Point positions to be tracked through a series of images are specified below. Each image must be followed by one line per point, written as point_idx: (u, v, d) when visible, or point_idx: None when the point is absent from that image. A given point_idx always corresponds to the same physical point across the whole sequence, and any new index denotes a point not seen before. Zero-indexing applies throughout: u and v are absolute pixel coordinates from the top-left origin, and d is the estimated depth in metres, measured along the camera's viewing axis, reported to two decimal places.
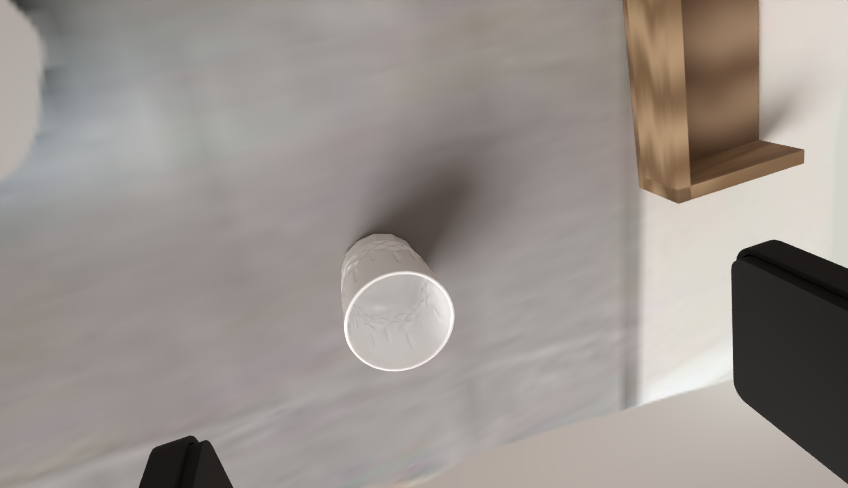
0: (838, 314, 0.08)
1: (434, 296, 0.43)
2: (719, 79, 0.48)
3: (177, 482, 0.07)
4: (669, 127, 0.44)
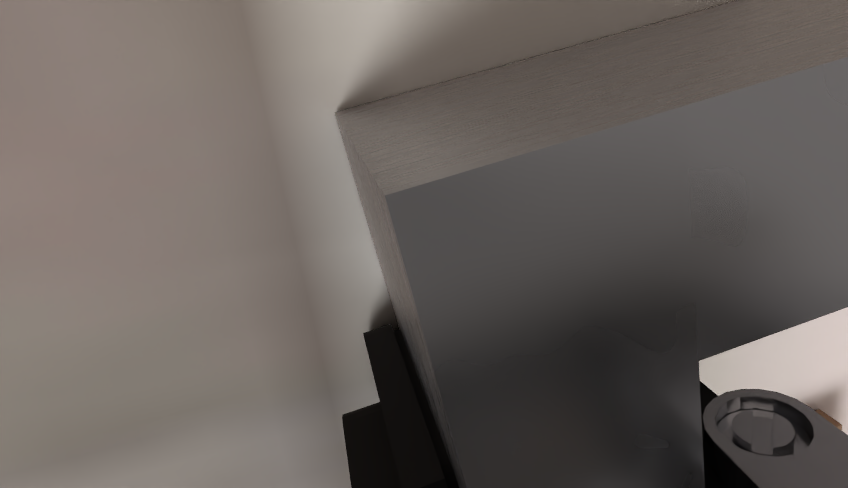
0: None
1: None
2: None
3: (400, 351, 0.09)
4: None
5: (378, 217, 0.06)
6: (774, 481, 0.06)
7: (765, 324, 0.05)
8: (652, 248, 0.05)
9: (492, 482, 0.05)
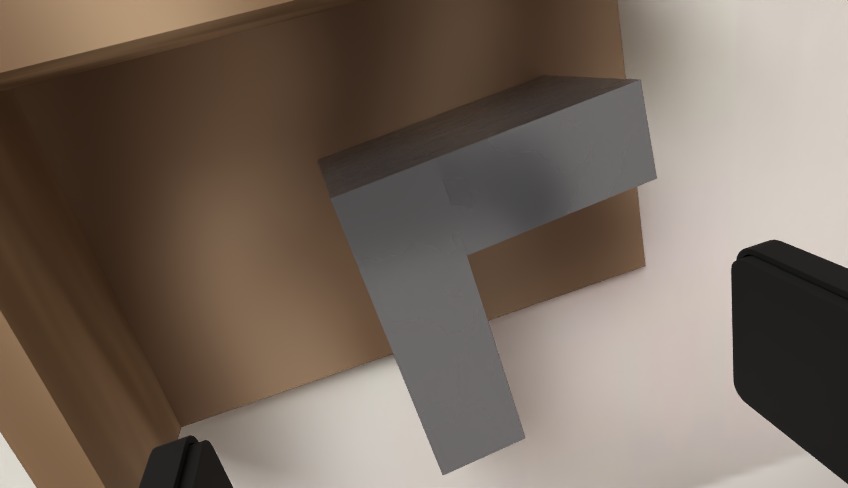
0: (838, 314, 0.08)
1: None
2: (343, 255, 0.17)
3: (177, 482, 0.07)
4: None
5: None
6: None
7: (493, 238, 0.13)
8: (435, 210, 0.12)
9: (387, 311, 0.13)
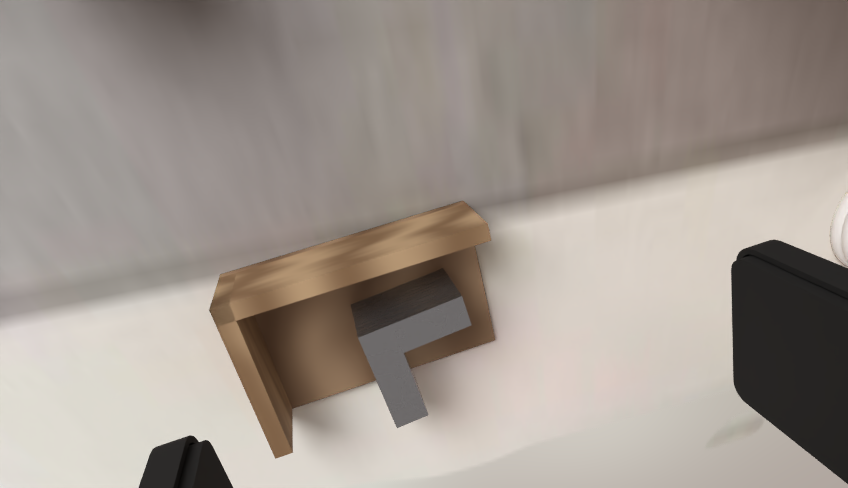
0: (838, 314, 0.08)
1: None
2: None
3: (177, 482, 0.07)
4: (311, 274, 0.35)
5: None
6: None
7: (412, 347, 0.37)
8: (392, 339, 0.37)
9: (376, 371, 0.37)
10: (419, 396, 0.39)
